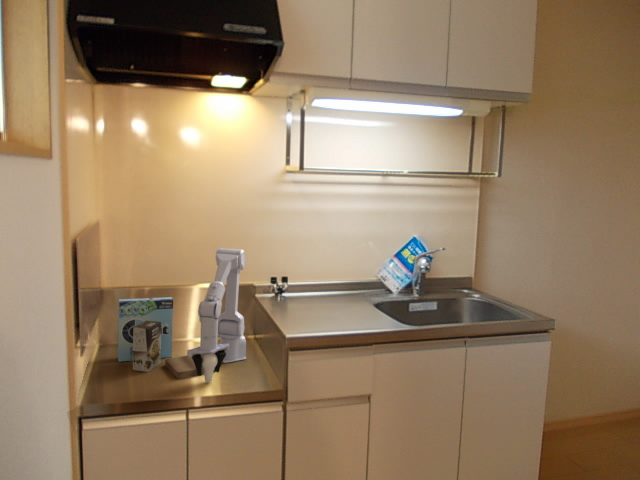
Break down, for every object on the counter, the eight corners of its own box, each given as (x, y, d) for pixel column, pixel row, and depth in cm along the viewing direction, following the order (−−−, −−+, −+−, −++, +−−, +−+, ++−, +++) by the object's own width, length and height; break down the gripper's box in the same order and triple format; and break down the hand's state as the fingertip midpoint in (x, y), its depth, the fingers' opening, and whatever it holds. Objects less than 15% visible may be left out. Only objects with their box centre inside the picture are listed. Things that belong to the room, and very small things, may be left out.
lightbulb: (208, 387, 170) (208, 356, 169) (195, 383, 174) (195, 352, 172) (221, 381, 176) (221, 351, 174) (208, 377, 179) (208, 347, 177)
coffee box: (148, 372, 180) (148, 328, 178) (132, 370, 181) (132, 326, 179) (161, 363, 189) (162, 321, 187) (145, 361, 190) (146, 319, 188)
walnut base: (201, 359, 195) (201, 353, 195) (215, 372, 184) (216, 365, 183) (165, 365, 187) (165, 359, 187) (178, 379, 176) (178, 372, 175)
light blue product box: (118, 362, 187) (118, 302, 184) (117, 357, 192) (118, 299, 189) (172, 357, 195) (173, 299, 192) (170, 352, 200) (171, 296, 197)
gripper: (192, 341, 165) (191, 381, 167) (233, 335, 173) (232, 373, 175) (185, 335, 171) (184, 373, 172) (225, 329, 179) (223, 366, 181)
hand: (208, 373), depth 174 cm, fingers closed on lightbulb, 6 cm apart
